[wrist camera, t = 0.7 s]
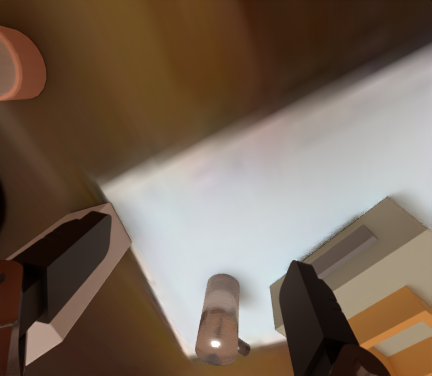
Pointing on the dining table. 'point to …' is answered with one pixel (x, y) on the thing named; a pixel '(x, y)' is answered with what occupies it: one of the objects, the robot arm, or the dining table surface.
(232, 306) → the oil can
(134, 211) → the dining table surface
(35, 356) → the milk carton
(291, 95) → the dining table surface
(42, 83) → the pepper shaker
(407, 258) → the slab with orange tray
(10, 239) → the dining table surface
